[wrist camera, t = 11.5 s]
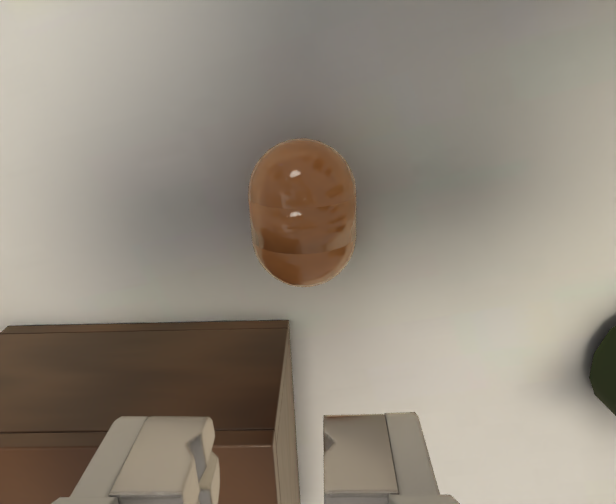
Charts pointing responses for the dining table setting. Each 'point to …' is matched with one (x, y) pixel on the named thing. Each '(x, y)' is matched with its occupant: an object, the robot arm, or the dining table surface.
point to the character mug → (605, 371)
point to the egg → (302, 212)
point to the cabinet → (147, 401)
